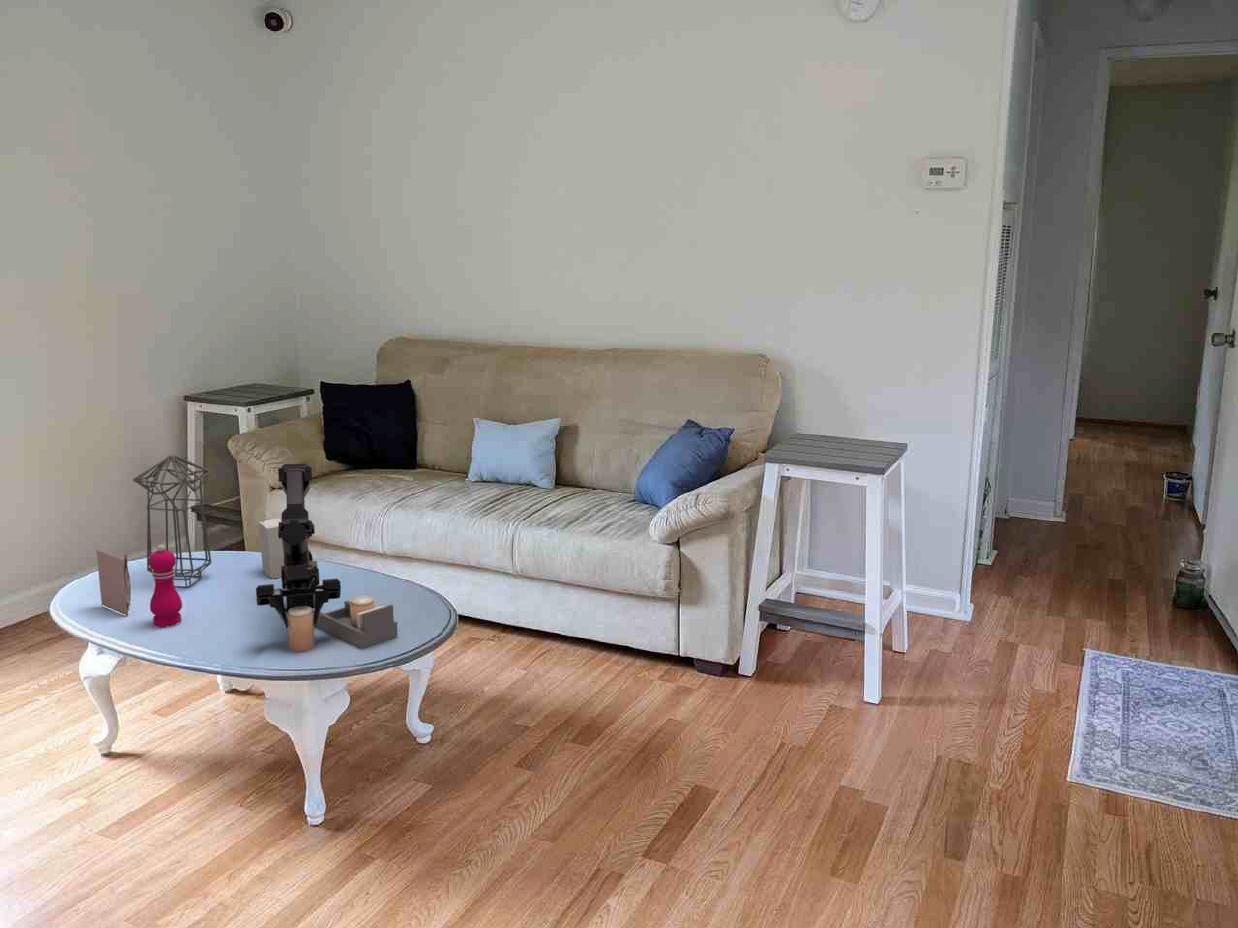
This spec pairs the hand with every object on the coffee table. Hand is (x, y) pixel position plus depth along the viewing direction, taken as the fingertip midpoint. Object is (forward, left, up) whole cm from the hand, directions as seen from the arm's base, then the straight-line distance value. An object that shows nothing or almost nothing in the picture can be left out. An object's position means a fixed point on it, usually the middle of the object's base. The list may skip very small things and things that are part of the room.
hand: (301, 625), depth 243 cm
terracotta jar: (0, +1, -7) cm, 7 cm away
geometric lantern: (-47, +44, -7) cm, 65 cm away
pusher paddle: (+15, +7, -5) cm, 17 cm away
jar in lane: (+12, +10, -6) cm, 16 cm away
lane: (+9, +12, -7) cm, 16 cm away
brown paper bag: (-54, +22, -7) cm, 59 cm away
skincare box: (-24, +52, -7) cm, 58 cm away
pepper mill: (-38, +15, -7) cm, 41 cm away
